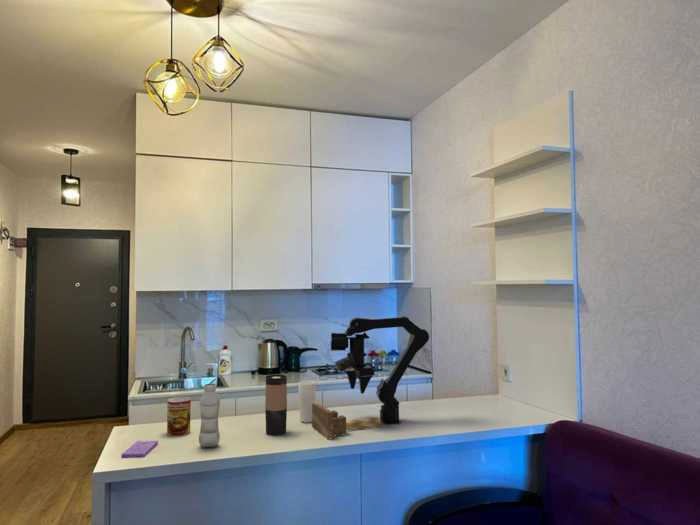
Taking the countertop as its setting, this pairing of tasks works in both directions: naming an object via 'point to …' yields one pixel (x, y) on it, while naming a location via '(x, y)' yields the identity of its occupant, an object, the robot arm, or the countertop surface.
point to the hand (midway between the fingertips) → (357, 391)
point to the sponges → (139, 449)
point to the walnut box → (327, 421)
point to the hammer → (363, 423)
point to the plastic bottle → (209, 417)
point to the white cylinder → (306, 399)
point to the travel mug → (276, 404)
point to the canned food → (178, 416)
